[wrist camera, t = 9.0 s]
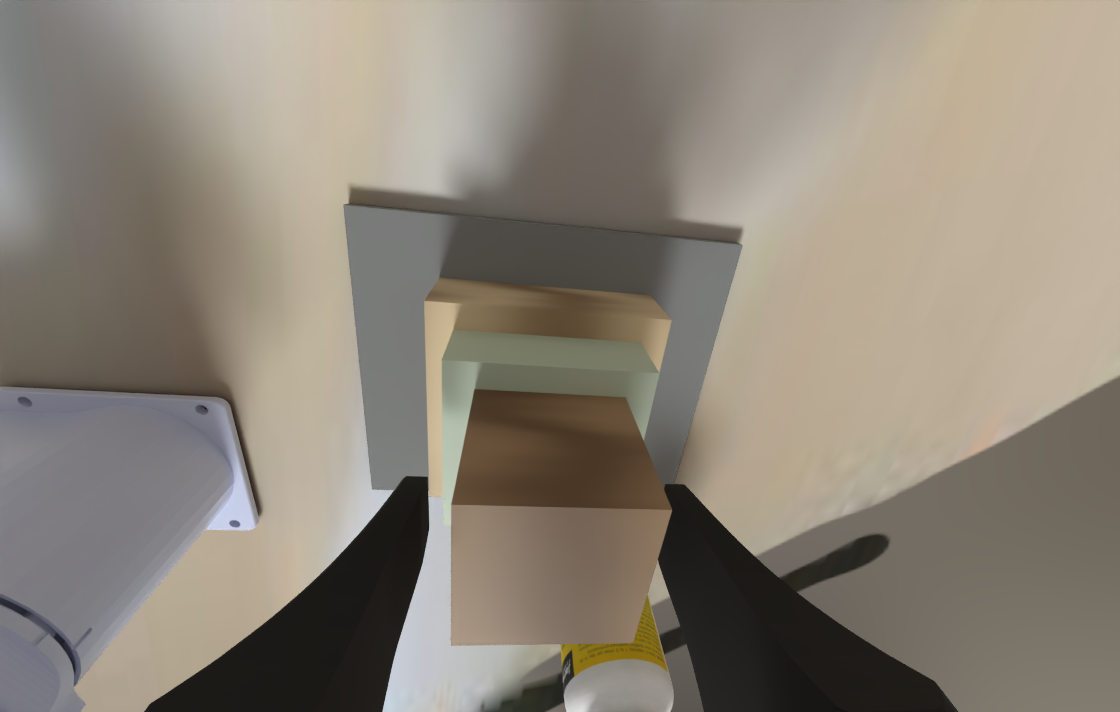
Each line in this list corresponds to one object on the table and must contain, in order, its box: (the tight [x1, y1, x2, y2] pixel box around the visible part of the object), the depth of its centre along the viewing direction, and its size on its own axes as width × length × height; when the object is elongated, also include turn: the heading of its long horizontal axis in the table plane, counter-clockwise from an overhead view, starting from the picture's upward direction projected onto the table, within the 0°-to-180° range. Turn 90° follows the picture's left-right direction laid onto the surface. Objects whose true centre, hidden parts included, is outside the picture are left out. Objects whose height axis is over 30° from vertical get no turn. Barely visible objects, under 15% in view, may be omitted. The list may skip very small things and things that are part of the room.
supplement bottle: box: [561, 594, 674, 712], centre depth 23 cm, size 5×5×10 cm
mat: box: [344, 204, 742, 491], centre depth 20 cm, size 16×14×1 cm
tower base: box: [424, 278, 672, 497], centre depth 19 cm, size 9×9×3 cm
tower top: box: [442, 329, 660, 526], centre depth 16 cm, size 7×7×2 cm
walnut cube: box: [451, 389, 672, 646], centre depth 13 cm, size 5×5×5 cm
